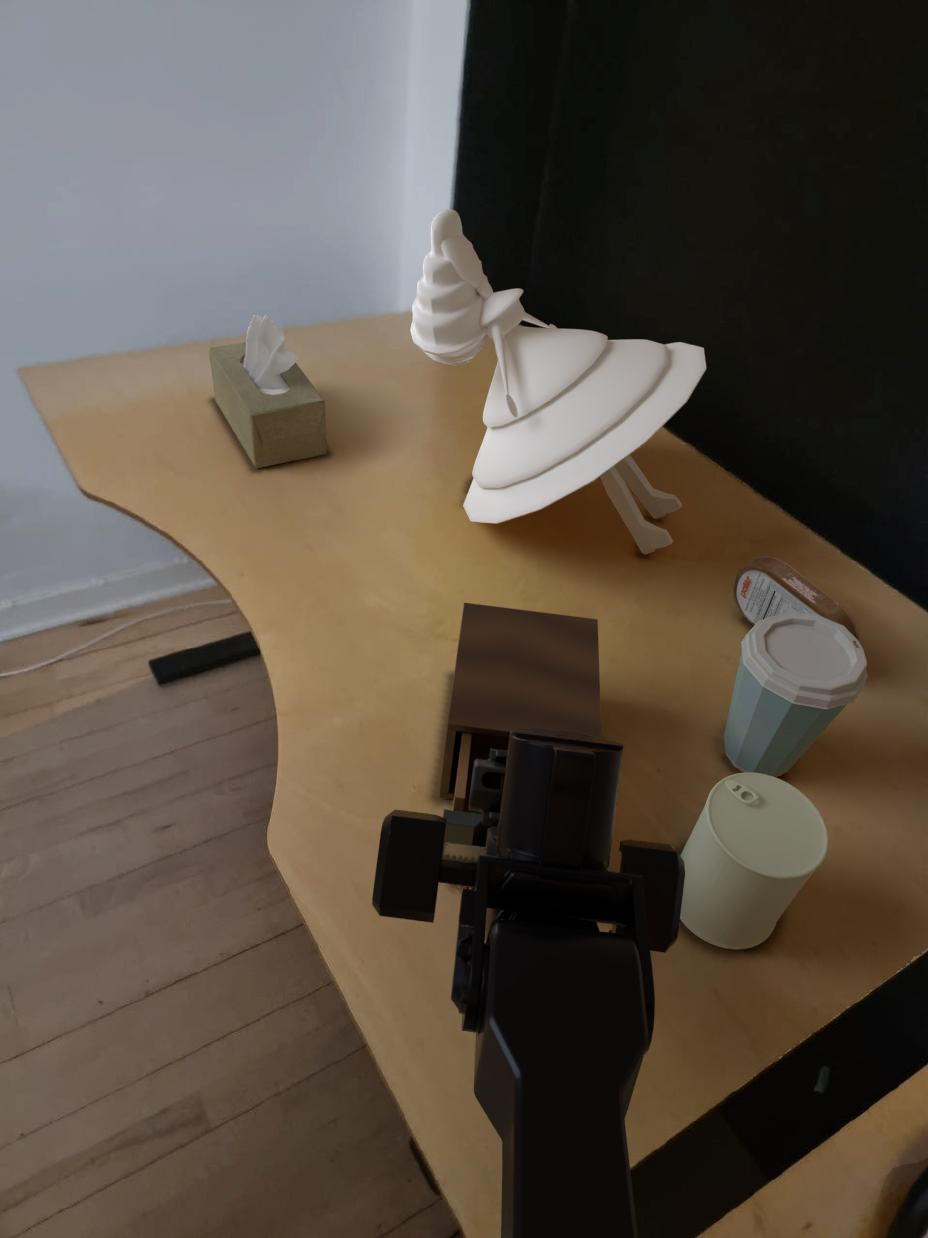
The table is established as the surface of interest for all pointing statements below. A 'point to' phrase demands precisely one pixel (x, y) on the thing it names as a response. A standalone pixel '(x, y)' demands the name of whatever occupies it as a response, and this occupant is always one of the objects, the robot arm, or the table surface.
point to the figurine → (550, 394)
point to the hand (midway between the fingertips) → (519, 846)
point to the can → (749, 858)
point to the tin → (784, 594)
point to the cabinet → (521, 677)
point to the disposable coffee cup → (790, 689)
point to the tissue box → (268, 397)
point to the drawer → (468, 787)
